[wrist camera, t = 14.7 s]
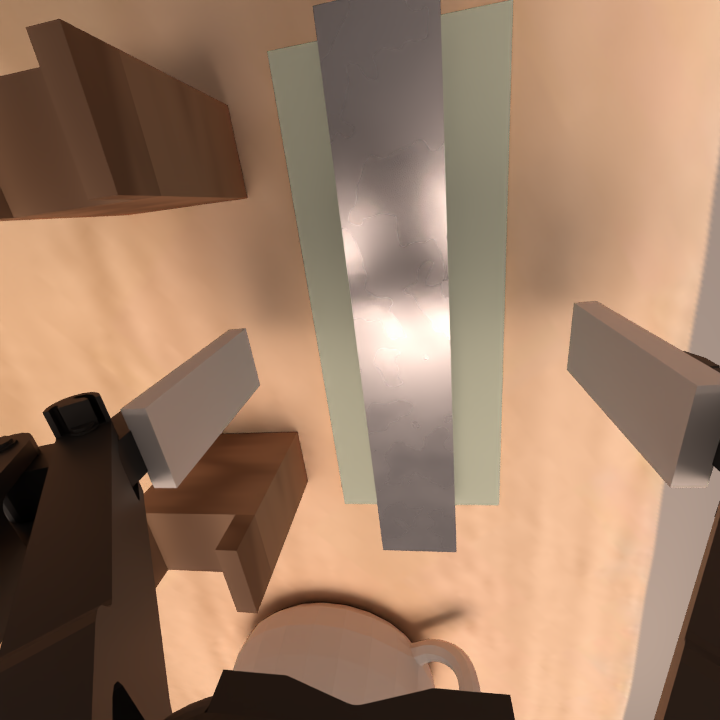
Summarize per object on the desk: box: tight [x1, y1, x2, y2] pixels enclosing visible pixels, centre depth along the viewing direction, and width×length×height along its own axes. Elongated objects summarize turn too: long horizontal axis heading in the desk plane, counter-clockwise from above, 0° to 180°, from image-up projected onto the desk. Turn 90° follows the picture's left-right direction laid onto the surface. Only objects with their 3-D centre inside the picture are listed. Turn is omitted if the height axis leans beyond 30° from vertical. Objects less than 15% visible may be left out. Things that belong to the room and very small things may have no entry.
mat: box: [267, 0, 513, 505], centre depth 20 cm, size 10×25×1 cm, turn 7°
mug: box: [233, 603, 480, 705], centre depth 28 cm, size 21×17×10 cm
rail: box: [313, 0, 456, 552], centre depth 18 cm, size 4×24×4 cm, turn 7°
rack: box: [0, 19, 308, 613], centre depth 18 cm, size 7×22×9 cm, turn 7°
